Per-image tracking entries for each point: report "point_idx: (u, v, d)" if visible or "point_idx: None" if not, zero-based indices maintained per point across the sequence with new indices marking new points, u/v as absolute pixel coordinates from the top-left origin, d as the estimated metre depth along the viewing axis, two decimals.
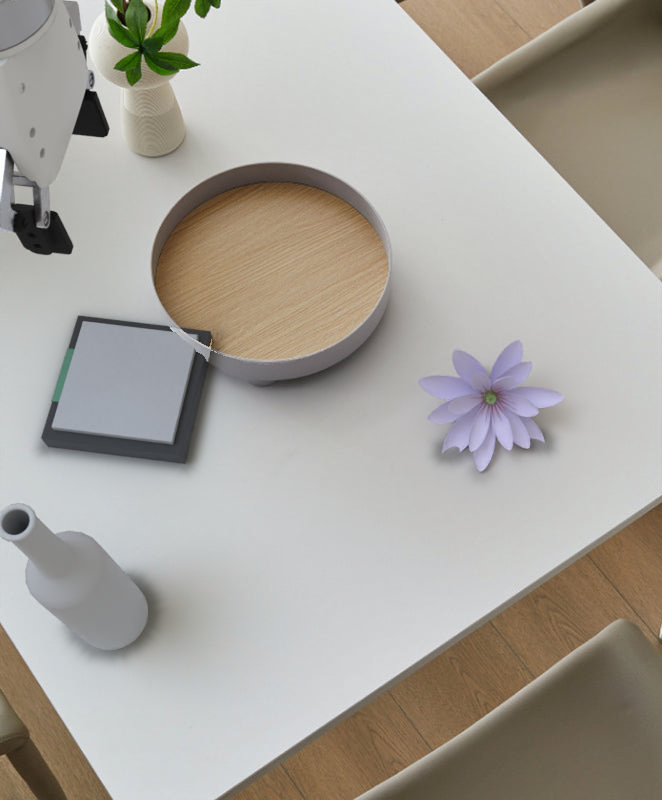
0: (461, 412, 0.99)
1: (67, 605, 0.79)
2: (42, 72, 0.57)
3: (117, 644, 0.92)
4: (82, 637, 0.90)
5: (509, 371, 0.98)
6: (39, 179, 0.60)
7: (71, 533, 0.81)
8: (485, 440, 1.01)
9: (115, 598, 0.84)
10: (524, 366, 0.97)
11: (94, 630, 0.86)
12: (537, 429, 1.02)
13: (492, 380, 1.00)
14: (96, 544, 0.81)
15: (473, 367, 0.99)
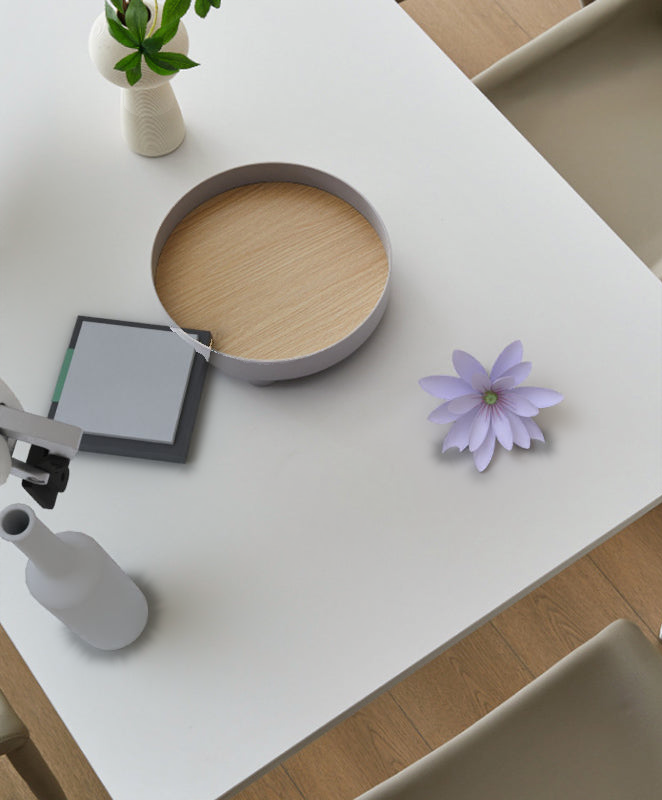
0: (461, 412, 0.99)
1: (66, 606, 0.79)
2: None
3: (117, 644, 0.92)
4: (82, 637, 0.90)
5: (509, 371, 0.98)
6: (21, 406, 0.55)
7: (71, 533, 0.81)
8: (485, 440, 1.01)
9: (115, 598, 0.84)
10: (524, 366, 0.97)
11: (94, 630, 0.86)
12: (537, 429, 1.02)
13: (492, 380, 1.00)
14: (96, 544, 0.81)
15: (472, 367, 0.99)
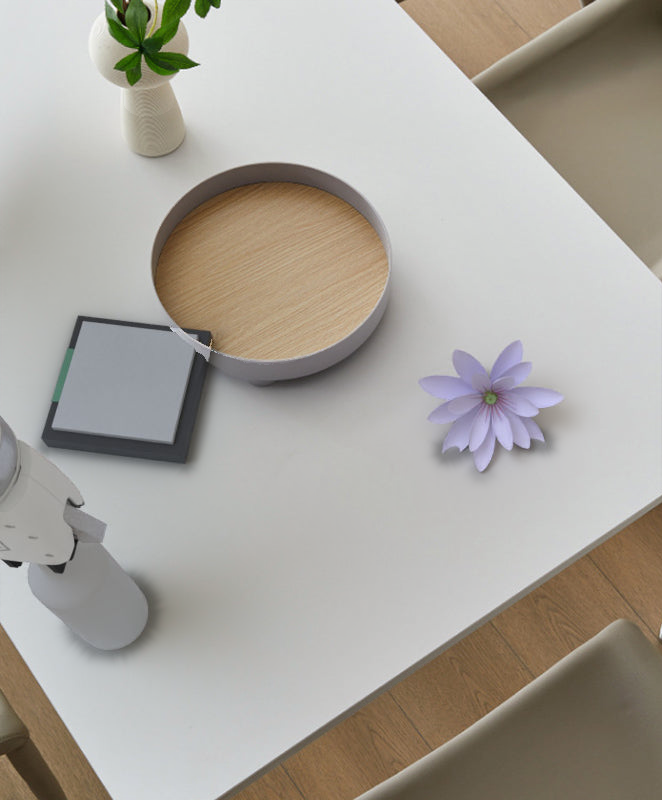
0: (461, 412, 0.99)
1: (69, 606, 0.79)
2: None
3: (117, 644, 0.92)
4: (83, 637, 0.90)
5: (509, 371, 0.98)
6: (81, 496, 0.67)
7: None
8: (485, 440, 1.01)
9: (117, 598, 0.84)
10: (524, 366, 0.97)
11: (95, 630, 0.86)
12: (537, 429, 1.02)
13: (492, 380, 1.00)
14: (99, 545, 0.81)
15: (473, 367, 0.99)
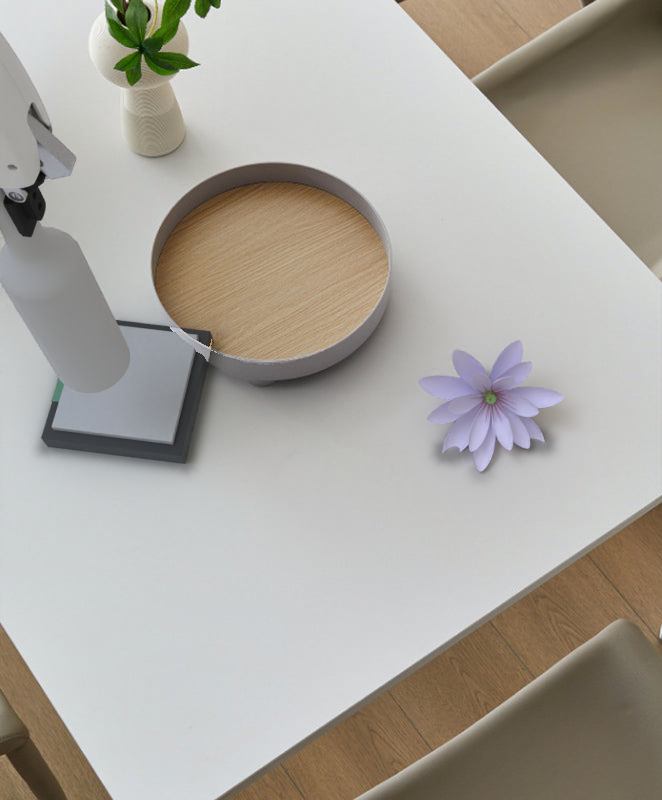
0: (461, 412, 0.99)
1: (40, 296, 0.74)
2: None
3: (95, 381, 0.87)
4: (58, 366, 0.85)
5: (509, 371, 0.98)
6: (49, 119, 0.62)
7: (46, 227, 0.76)
8: (485, 440, 1.01)
9: (93, 308, 0.80)
10: (524, 366, 0.97)
11: (70, 349, 0.82)
12: (537, 429, 1.02)
13: (492, 380, 1.00)
14: (73, 239, 0.76)
15: (472, 367, 0.99)
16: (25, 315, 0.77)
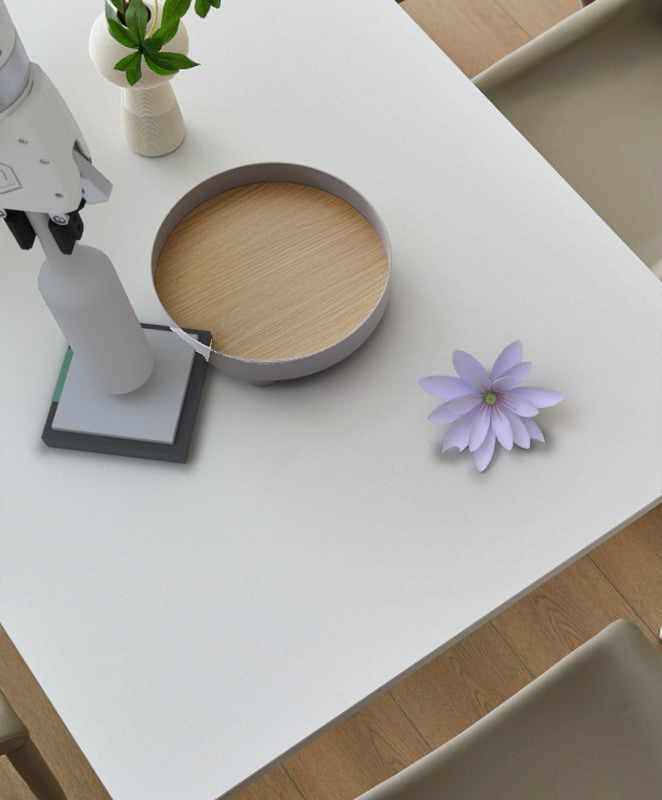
0: (461, 412, 0.99)
1: (77, 306, 0.83)
2: None
3: (123, 383, 0.96)
4: (90, 370, 0.94)
5: (509, 371, 0.98)
6: None
7: (81, 244, 0.85)
8: (485, 440, 1.01)
9: (122, 317, 0.89)
10: (524, 366, 0.97)
11: (102, 353, 0.91)
12: (537, 429, 1.02)
13: (492, 380, 1.00)
14: (105, 255, 0.85)
15: (472, 367, 0.99)
16: (63, 324, 0.86)
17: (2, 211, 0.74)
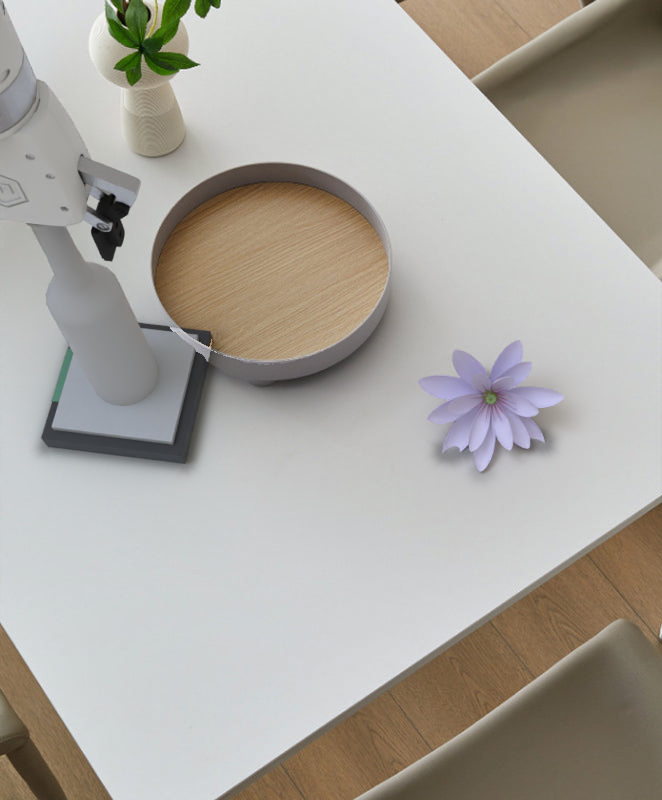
0: (461, 412, 0.99)
1: (84, 322, 0.86)
2: None
3: (129, 395, 0.99)
4: (97, 382, 0.96)
5: (509, 371, 0.98)
6: None
7: (88, 262, 0.88)
8: (485, 440, 1.01)
9: (128, 332, 0.91)
10: (524, 366, 0.97)
11: (108, 367, 0.93)
12: (537, 429, 1.02)
13: (492, 380, 1.00)
14: (111, 272, 0.88)
15: (472, 367, 0.99)
16: (70, 339, 0.89)
17: None
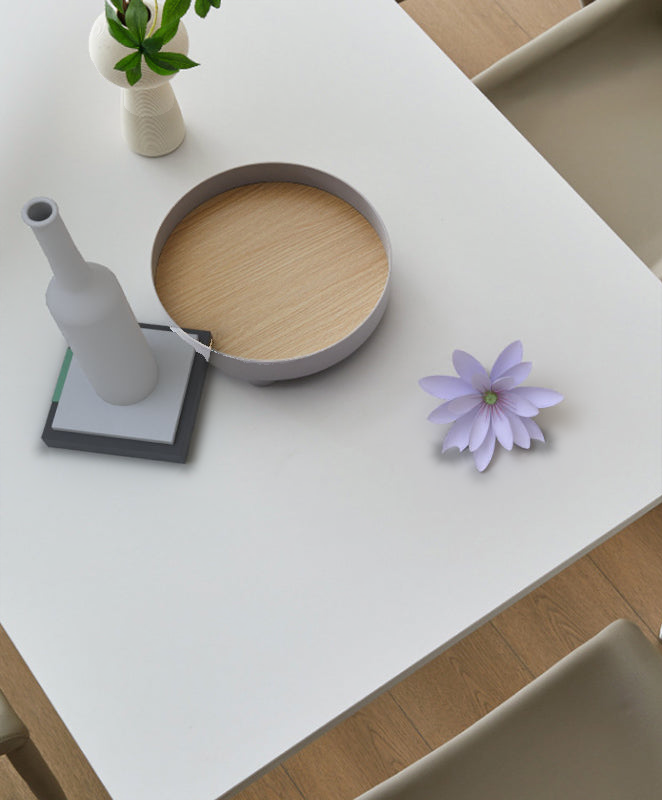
0: (461, 412, 0.99)
1: (84, 322, 0.86)
2: None
3: (129, 395, 0.99)
4: (97, 382, 0.96)
5: (509, 371, 0.98)
6: None
7: (88, 262, 0.88)
8: (485, 440, 1.01)
9: (128, 331, 0.91)
10: (524, 366, 0.97)
11: (108, 367, 0.93)
12: (537, 429, 1.02)
13: (492, 380, 1.00)
14: (111, 272, 0.88)
15: (472, 367, 0.99)
16: (70, 338, 0.89)
17: None
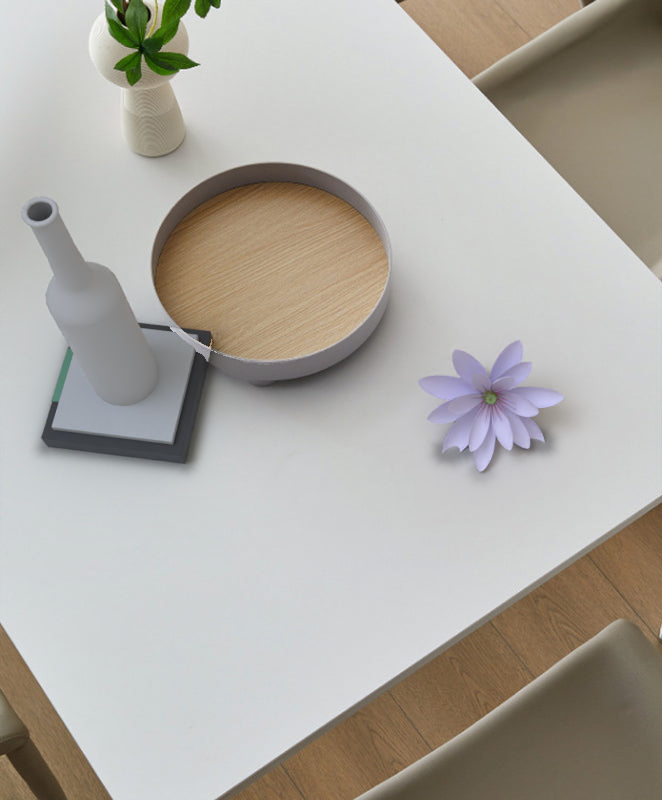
0: (461, 412, 0.99)
1: (84, 322, 0.86)
2: None
3: (129, 395, 0.99)
4: (97, 382, 0.96)
5: (509, 371, 0.98)
6: None
7: None
8: (485, 440, 1.01)
9: (128, 331, 0.91)
10: (524, 366, 0.97)
11: (108, 367, 0.93)
12: (537, 429, 1.02)
13: (492, 380, 1.00)
14: (111, 272, 0.88)
15: (472, 367, 0.99)
16: (70, 338, 0.89)
17: None
